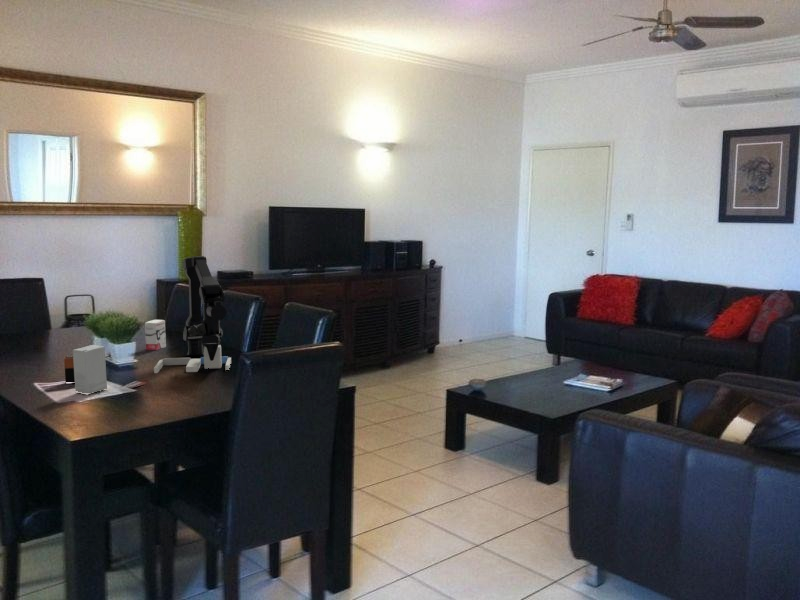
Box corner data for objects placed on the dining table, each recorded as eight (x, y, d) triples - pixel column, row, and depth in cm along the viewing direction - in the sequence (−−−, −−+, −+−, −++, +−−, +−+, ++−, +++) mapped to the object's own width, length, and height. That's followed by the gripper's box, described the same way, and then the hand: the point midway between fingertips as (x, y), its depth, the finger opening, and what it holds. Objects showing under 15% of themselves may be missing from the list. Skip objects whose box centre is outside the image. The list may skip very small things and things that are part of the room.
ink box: (156, 350, 303) (155, 322, 302) (145, 350, 304) (144, 322, 303) (166, 346, 312) (165, 319, 310) (155, 346, 313) (154, 319, 311)
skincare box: (94, 388, 241) (92, 344, 239) (108, 390, 239) (106, 345, 237) (74, 394, 234) (71, 348, 232) (87, 396, 231) (85, 350, 229)
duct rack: (160, 364, 276) (159, 358, 276) (231, 362, 280) (231, 356, 280) (154, 373, 262) (153, 366, 262) (228, 370, 267) (228, 363, 266)
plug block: (205, 366, 274) (204, 345, 273) (221, 365, 275) (221, 345, 274) (204, 368, 270) (203, 347, 269) (220, 368, 271) (220, 347, 270)
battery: (87, 383, 248) (85, 354, 246) (65, 385, 245) (63, 356, 244) (88, 380, 252) (86, 352, 250) (66, 382, 249) (64, 353, 248)
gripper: (191, 313, 278) (193, 353, 280) (186, 321, 259) (187, 364, 261) (221, 312, 280) (223, 352, 282) (218, 320, 261) (219, 363, 263)
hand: (212, 357), depth 272 cm, fingers open, 9 cm apart
